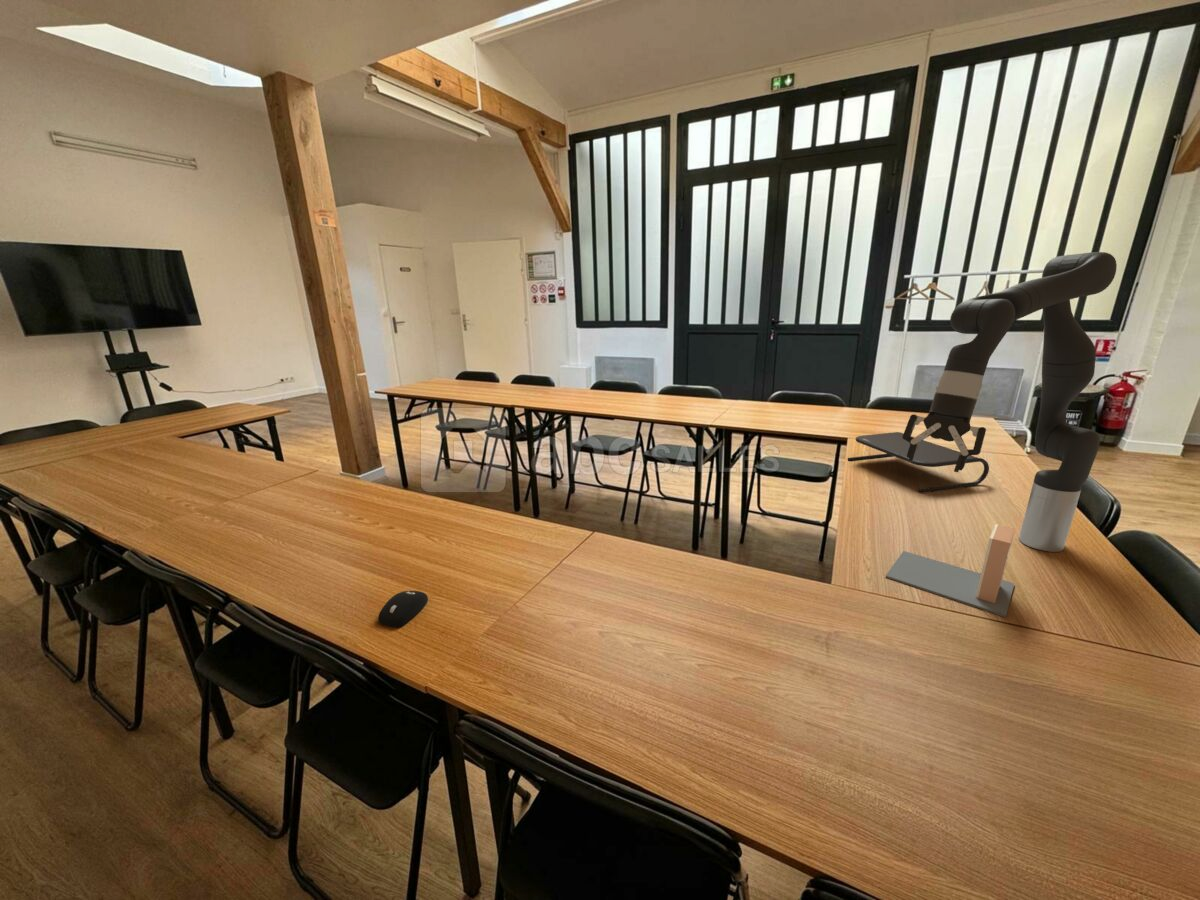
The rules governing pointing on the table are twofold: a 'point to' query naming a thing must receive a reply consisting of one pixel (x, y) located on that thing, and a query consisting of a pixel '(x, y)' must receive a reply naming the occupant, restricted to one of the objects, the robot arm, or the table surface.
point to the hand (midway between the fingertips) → (932, 466)
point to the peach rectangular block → (995, 563)
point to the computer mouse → (402, 608)
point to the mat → (947, 581)
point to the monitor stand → (918, 455)
